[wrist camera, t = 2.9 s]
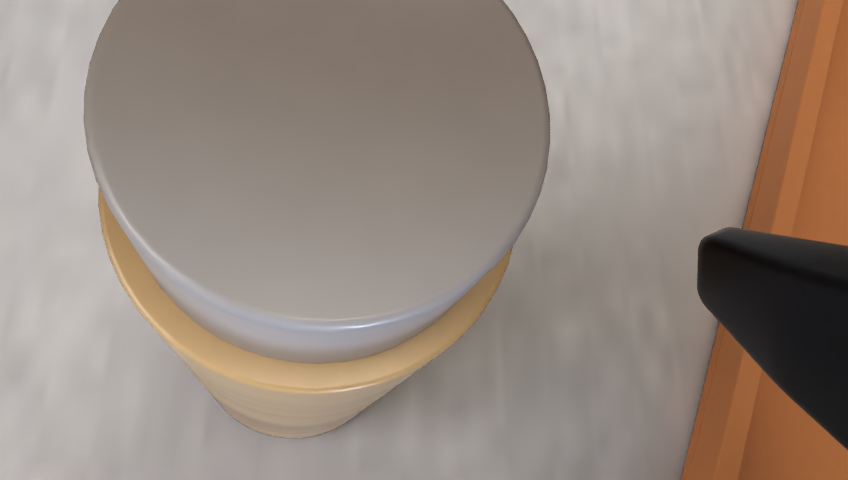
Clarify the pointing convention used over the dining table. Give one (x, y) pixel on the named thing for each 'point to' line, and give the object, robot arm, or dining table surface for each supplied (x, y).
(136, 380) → the dining table surface
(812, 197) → the tray
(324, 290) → the disc
